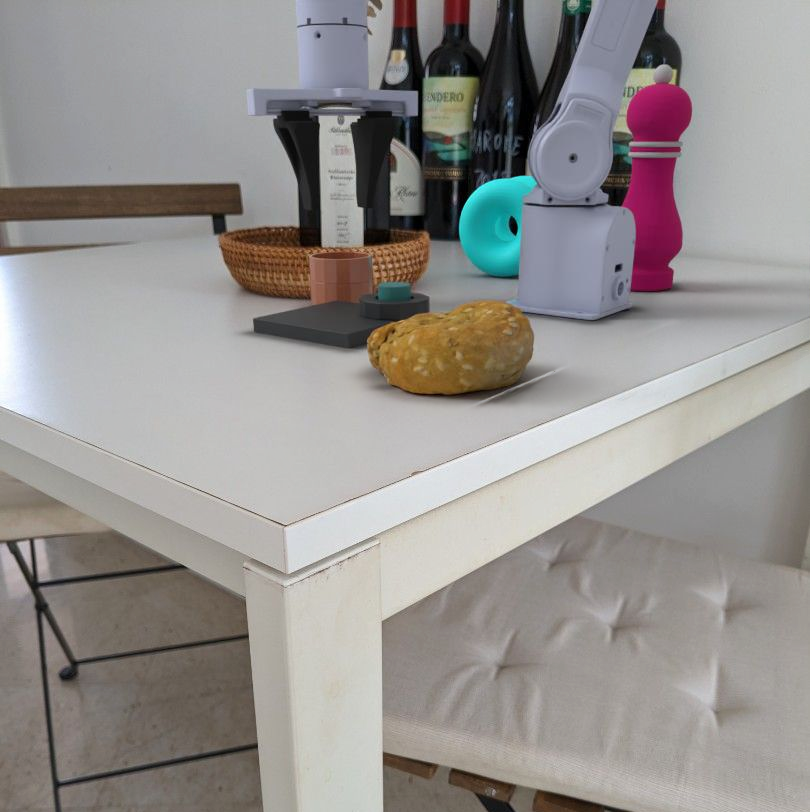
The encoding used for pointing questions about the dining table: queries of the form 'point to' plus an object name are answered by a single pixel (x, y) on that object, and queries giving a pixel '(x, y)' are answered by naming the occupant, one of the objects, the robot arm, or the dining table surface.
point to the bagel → (454, 349)
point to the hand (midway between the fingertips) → (338, 208)
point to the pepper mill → (656, 178)
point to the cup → (340, 276)
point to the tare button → (394, 291)
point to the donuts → (494, 225)
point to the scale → (340, 320)
